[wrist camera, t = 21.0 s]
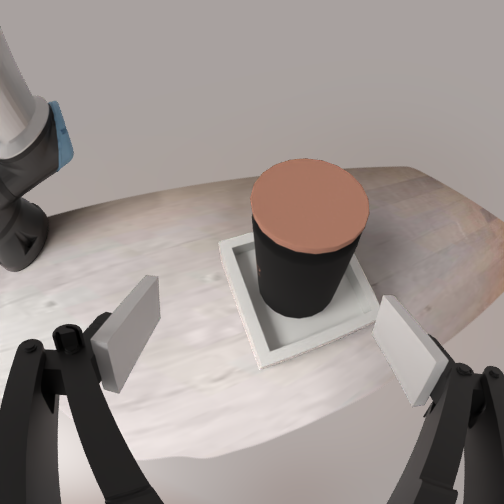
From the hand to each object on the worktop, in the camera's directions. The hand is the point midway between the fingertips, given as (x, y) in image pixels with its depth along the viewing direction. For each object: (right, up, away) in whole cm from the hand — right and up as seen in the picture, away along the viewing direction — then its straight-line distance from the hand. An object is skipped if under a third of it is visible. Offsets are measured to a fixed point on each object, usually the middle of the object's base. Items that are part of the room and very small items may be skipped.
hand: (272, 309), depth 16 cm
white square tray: (+5, -3, +28) cm, 29 cm away
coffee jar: (+5, -2, +24) cm, 25 cm away
